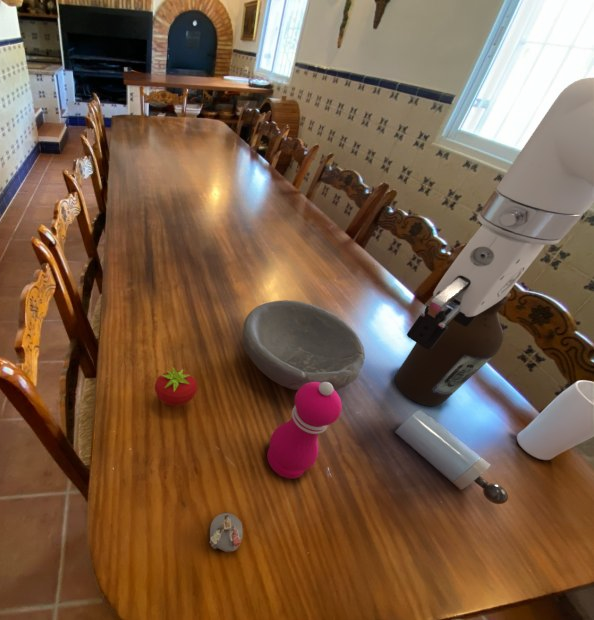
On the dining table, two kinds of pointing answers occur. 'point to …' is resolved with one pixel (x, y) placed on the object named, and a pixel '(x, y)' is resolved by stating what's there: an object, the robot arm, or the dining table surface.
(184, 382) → the red tomato
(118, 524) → the dining table surface
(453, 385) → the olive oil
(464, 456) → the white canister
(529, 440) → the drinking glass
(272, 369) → the bowl
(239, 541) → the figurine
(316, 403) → the pepper mill
